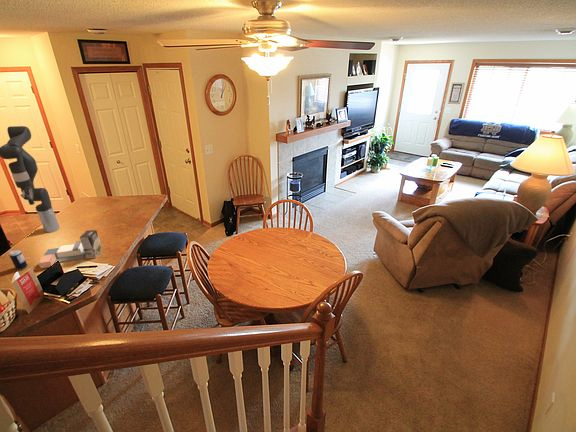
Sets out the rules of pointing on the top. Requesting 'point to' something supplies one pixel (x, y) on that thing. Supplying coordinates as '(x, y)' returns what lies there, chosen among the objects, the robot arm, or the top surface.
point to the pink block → (47, 261)
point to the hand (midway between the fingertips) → (32, 204)
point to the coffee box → (91, 244)
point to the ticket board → (64, 259)
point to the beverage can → (18, 259)
